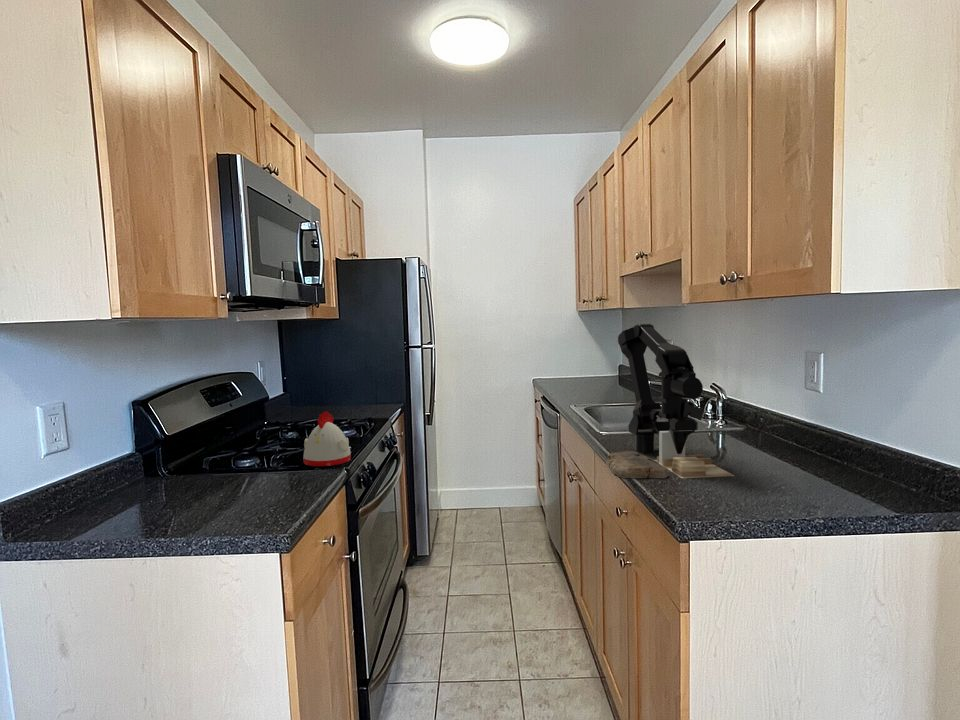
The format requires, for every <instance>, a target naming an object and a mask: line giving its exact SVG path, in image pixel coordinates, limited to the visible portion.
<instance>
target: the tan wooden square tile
mask: <svg viewBox="0 0 960 720" xmlns="http://www.w3.org/2000/svg"><path fill="white" fill-rule="evenodd" d="M672 471H673V472H675V473H676V474H678V475H679V476H681V477H691V476H706V471H695V472H681V471H679V470H677V469H676V468H674V467H673V466H672ZM673 472H672V473H673ZM676 474H675V475H676ZM679 476H678V477H679ZM681 477H680V478H681Z"/></svg>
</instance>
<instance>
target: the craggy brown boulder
mask: <svg viewBox="0 0 960 720" xmlns="http://www.w3.org/2000/svg"><path fill="white" fill-rule="evenodd" d="M654 460H655V459H653V458H650V457H648V456H647V455H643V454H641V453H640V452H638V451H636V450H620V451H613V452H611V453H609V454H608V455H607V456H606V462H605V465H606V467H607V468H609V471H610V473H611V474H613V475H615V476H617V477H618V478H624V479H646V478H651V479H652V478H653V479H667V478H668V477H669V474H668V473H669V472H668V469H667V468H665V467H663V466H662V465H660V464H659V463H657V462H656V461H654Z"/></svg>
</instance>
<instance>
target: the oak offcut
mask: <svg viewBox="0 0 960 720" xmlns="http://www.w3.org/2000/svg"><path fill="white" fill-rule="evenodd" d="M672 466H673V467H674V468H676V469H677V470H679V471H681V472H695V471H705V466H699V467H680V466H679V465H677V464H675V463H674V462H672Z"/></svg>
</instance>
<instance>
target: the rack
mask: <svg viewBox="0 0 960 720" xmlns="http://www.w3.org/2000/svg"><path fill="white" fill-rule="evenodd" d="M685 457H697V458H698V459H700V460H702V461H704V466H705V471H706V476H691V477H681V476H679V475H678V474H676V473H675V472H673V471H672V462H673V460H663V465H662V464H660V463H659V455H658V456H656V459H653V460H654V461H656V462H657V463H658V464H659V465H661V466H663V467H665V468H666V469H667V471H670V473H673V474H675V475H676V476H678V477H679V478H681V479H694V478H695V479H697V478H715V477H716V478H720V477H735V475H734V474H732V473H731V472H729V471H726V470H725V469H723V468H721V467H718V466H717V465H715V464H713V463H712V462H713V461H712V460H713V458H711V457H706V455H705V454H685Z"/></svg>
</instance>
